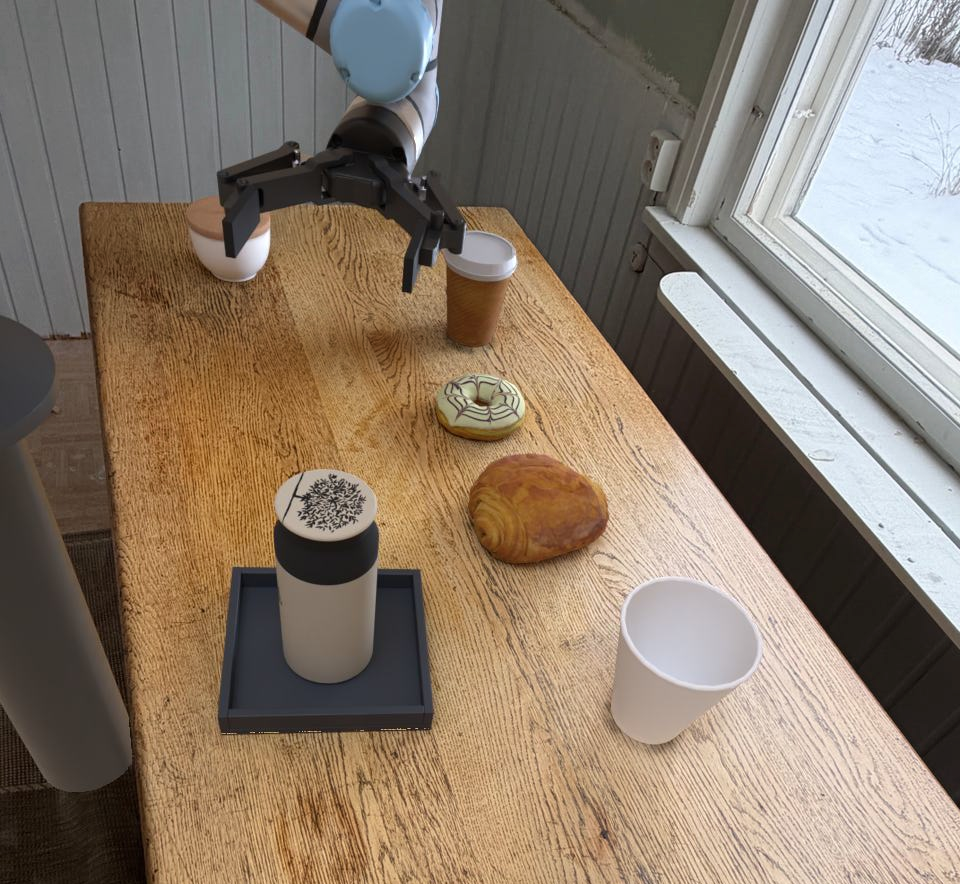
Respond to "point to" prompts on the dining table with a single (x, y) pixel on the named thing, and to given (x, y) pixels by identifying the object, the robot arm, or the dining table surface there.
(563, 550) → the croissant
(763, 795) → the dining table surface
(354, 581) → the travel mug
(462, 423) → the decorated donut
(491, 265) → the disposable coffee cup
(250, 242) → the trinket box
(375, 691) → the serving tray
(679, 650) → the cup
